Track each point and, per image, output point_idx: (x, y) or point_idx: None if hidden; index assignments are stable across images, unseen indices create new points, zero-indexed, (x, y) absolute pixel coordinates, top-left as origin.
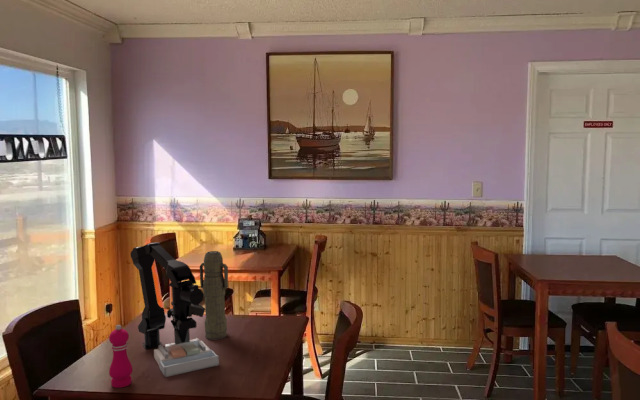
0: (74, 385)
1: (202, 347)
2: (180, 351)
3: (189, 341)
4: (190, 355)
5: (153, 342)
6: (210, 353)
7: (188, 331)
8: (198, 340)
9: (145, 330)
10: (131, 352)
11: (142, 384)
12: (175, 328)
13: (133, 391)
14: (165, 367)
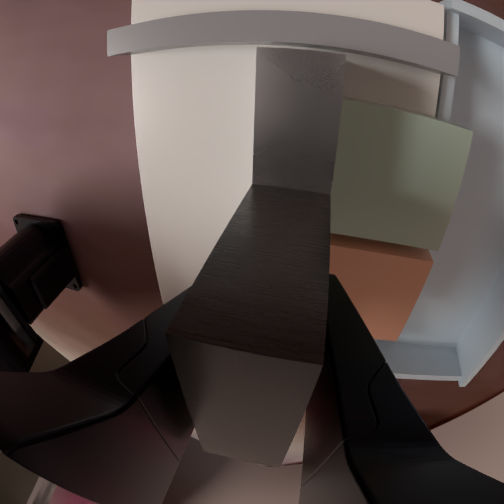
0: (287, 455)
1: (438, 70)
2: (375, 284)
3: (328, 200)
4: None
5: (59, 278)
6: (454, 21)
7: (322, 321)
8: (344, 65)
9: (34, 356)
10: (101, 328)
11: (431, 399)
12: (183, 444)
13: (445, 415)
14: (467, 380)
